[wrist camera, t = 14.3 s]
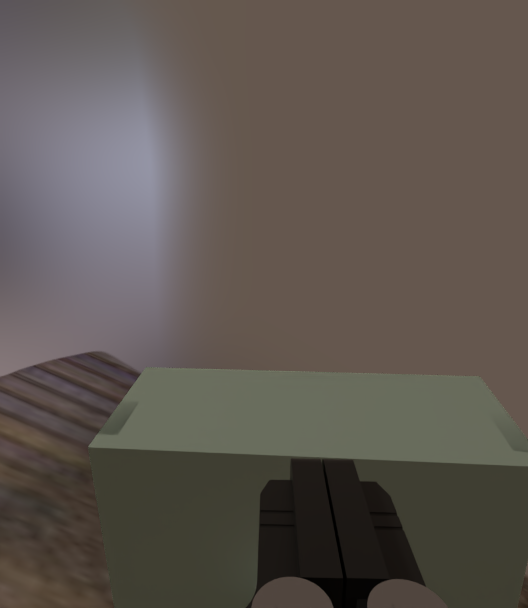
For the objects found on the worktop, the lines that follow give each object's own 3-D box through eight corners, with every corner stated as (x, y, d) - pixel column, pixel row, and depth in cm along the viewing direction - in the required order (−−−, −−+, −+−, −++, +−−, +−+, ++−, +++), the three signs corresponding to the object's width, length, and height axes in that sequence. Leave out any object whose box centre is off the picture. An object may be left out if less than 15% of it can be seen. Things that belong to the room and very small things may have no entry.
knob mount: (463, 843, 28) (549, 467, 19) (147, 807, 30) (88, 447, 21) (429, 695, 36) (479, 376, 26) (179, 674, 37) (146, 367, 28)
